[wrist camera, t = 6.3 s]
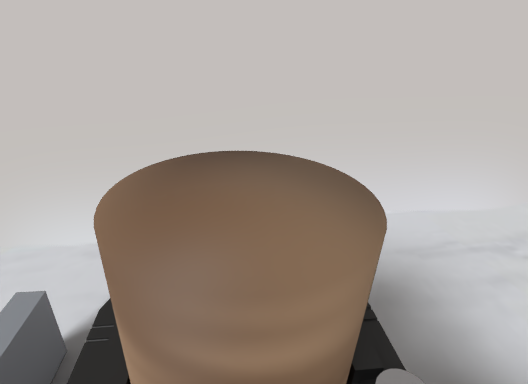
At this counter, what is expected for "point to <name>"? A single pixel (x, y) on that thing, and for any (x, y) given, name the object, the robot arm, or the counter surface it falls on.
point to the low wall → (29, 340)
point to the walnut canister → (239, 268)
